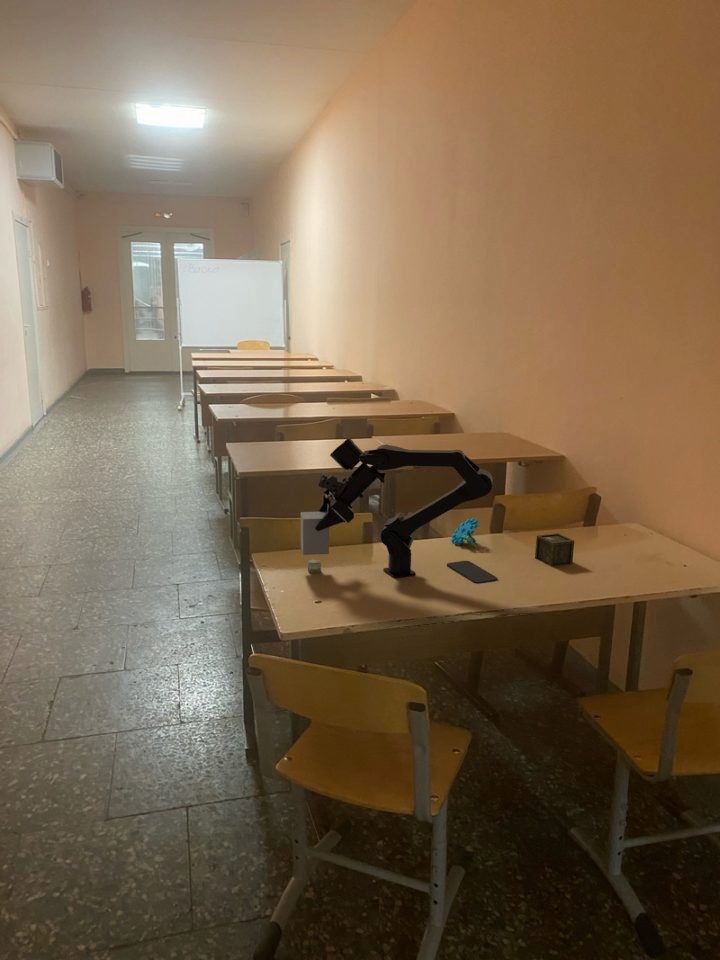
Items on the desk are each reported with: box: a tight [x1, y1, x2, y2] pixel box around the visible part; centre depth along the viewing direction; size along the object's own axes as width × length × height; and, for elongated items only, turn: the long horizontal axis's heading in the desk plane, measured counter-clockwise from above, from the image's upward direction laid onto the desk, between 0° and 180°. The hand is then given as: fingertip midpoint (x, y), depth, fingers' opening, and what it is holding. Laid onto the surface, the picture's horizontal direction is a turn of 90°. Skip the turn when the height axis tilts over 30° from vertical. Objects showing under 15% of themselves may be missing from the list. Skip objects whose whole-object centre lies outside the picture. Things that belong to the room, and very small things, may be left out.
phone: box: [446, 560, 498, 584], centre depth 188 cm, size 7×1×15 cm
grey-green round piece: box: [307, 559, 322, 574], centre depth 186 cm, size 3×3×2 cm
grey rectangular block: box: [300, 511, 330, 556], centre depth 183 cm, size 7×7×10 cm
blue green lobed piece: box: [450, 517, 479, 549], centre depth 212 cm, size 11×6×10 cm
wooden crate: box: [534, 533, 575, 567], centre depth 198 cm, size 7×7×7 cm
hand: (314, 526), depth 183 cm, fingers closed on grey rectangular block, 7 cm apart
